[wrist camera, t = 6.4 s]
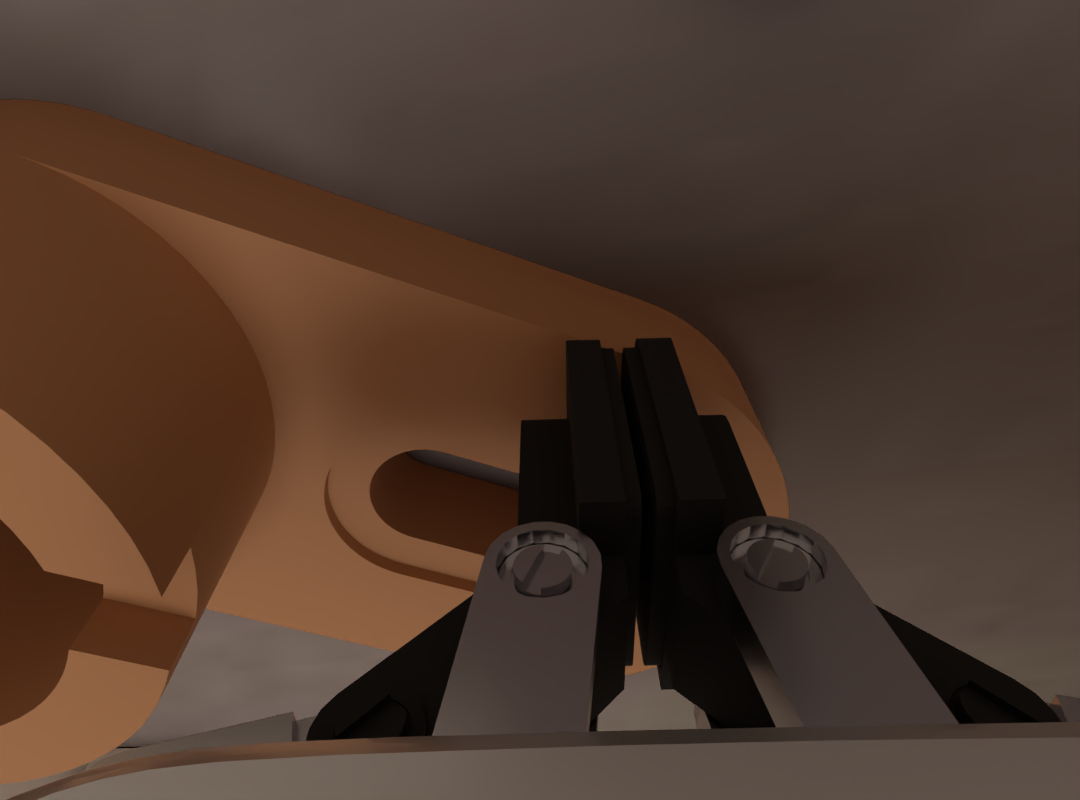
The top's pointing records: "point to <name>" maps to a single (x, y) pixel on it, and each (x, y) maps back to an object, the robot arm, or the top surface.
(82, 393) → the bracket
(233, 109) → the top surface
